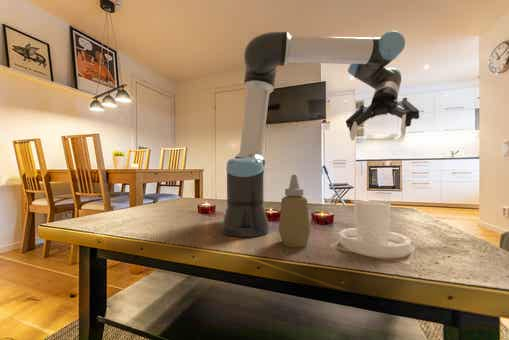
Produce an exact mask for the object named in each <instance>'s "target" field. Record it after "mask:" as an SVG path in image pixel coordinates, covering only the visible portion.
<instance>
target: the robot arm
mask: <svg viewBox="0 0 509 340" xmlns="http://www.w3.org/2000/svg"><path fill="white" fill-rule="evenodd" d="M405 45H406V39H405V36H404V35H403V33H401V32H400V31H397V30H390V31H387V32H385V33H384V34H382V35H381V36H380V37H354V36H353V37H352V36H351V37H350V36H348V37H346V36H315V35H313V36H309V35H308V36H306V35H304V36H303V35H290V33H289V32H288V31H271V32H266V33H261V34H259V35H257V36H255V37H253V38H252V39H251V40H250V41H249V42H248V43H247V45H246V47H245V50H244V55H243V57H244V58H243V59H244V63H245V65H244V66H245V73H244V80H243V82H244V83H243V88H244V89H245V90H246V99H245V104H244V105H245V106H244V107H245V108H244V113H243V114H244V115H243V121H242V131H241V139H240V146H239V152H238V154H236V155H235V156H234V158H230V159H228V160H227V163H226V169H225V170H226V209H225V214H224V217H223V221H222V223H221V233H222V234H224V235H226V236H231V237H236V238H252V237H254V238H255V237H259V236H263V235H266V234H268V233H269V232H270V223H269V221H268V217H267V213H266V210H265V207H264V174H265V164H266V159H265V157H264V156H263V148H264V141H265V134H266V133H265V132H266V124H267V115H268V108H269V107H268V106H269V100H270V94H271V93H272V92H273V91H274V90H275V83H276V76H277V67H278V66H279V67H284V66H286V65H287V64H288V63H292V64H293V63H294V64H296V63H298V64H299V63H302V64H338V65H339V64H344V65H347V64H348V65H349V66H348V68H347V73H348V74H349V75H351V76H352V77H353V78H355V79H357V80H358V81H360V82H362V83H364V84H365V85H368V86H369V87H371V88H372V89H374V92H373V96H372V99H371V103H370V105H368V106H365V105H364V104H363V105H360V106H359V108H358V110H356V111H355V112H354V113H353V114H352V115H350V117H349V118H347V119H346V120H345V124H346V127H347V128H348V130H349V137H350V141H351V142H352V141H355V138H356V135H357V132H358V126H360V125H361V124H364V123H365V122H366V121H368V120H369V119H373V118H374V117H377V116H382V115H388V114H389V115H391V116H396V117H398V118H400V119H401V124H400V134H401V137H404V136H406V131H407V127H411V125H412V120H413V119H414V120H417V119H420V111H419V109H418V108H417V107H416V106H414V105H413V104H412V103H411V102H410V101H408V97H403V98H402V100H400V101H399V100H398V96H399V91H400V86H401V83H402V73H401V71H400V70H399V69H398V68H396V67H388V68H387V67H386V66H388V65H389V64H390V63H391V62H392V61H394V60H395V59H397V57H398V56H399V55H400V54H401V53H402V52H403V50H404V49H405Z"/></svg>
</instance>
